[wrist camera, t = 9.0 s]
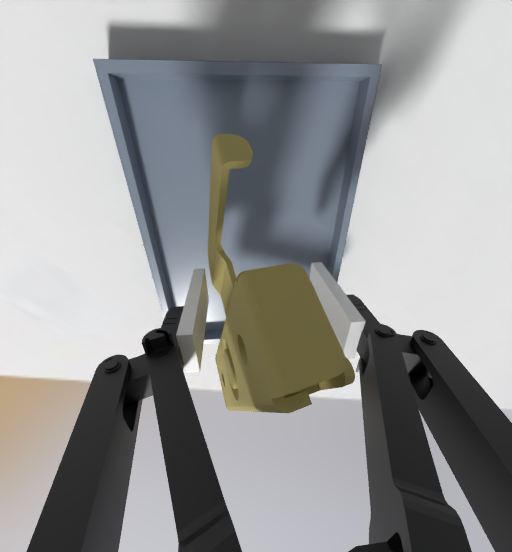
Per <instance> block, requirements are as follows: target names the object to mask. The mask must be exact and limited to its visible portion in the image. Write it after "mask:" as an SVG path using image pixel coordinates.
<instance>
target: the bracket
mask: <svg viewBox="0 0 512 552" xmlns="http://www.w3.org/2000/svg"><path fill="white" fill-rule="evenodd" d="M252 156H253V151H252V149H251V147H250V144H249V143H248V141H247V140H246V139H244V138H243V137H241V136H238V135H235V134H218V135H216V136H215V137H214V138H213V140H212V152H211V178H210V203H209V229H208V262H209V269H210V275H211V281H212V285H213V286H214V287H215V289H216V290H217V291H218V293H219V294H220V295H221V299H222V303H223V307H224V311H225V315H226V320H225V323H224V327H223V331H222V335H221V339H220V343H219V346H218V350H217V354H216V364H217V368H218V373H219V377H220V382H221V386H222V391H223V395H224V399H225V404H226V407H227V409H228V410H232V411H233V410H234V411H253V412H277V413H290V412H293V411H296V410H298V409H301V408H303V407H306V406H308V405H310V404H312V403H311V401H310V397H309V394H312V393H314V392H317V391H319V390H324V389H331V388H339V387H343V386H346V385H348V384H351V383H353V382H354V379H355V374H354V370H353V367H352V365H351V363H350V362H349V360H348V359H347V358H346V357H345V355H344V352H343V350H342V348H341V346H340V343H339V341H338V339H337V337H336V335H335V333H334V330H333V328H332V326H331V324H330V322H329V320H328V317H327V315H326V313H325V311H324V309H323V307H322V304H321V302H320V300H319V298H318V296H317V294H316V291H315V289H314V287H313V285H312V283H311V281H310V278H309V276H308V274H307V272H306V271H305V269H304V268H303V267H301V266H300V265H298V264H295V263H288V264H282V265H276V266H270V267H264V268H258V269H252V270H246V271H242V272H241V273H239V274H238V276H237V278H236V275H235V271H234V268H233V265H232V262H231V260H230V259H229V257H228V256H227V255H226V253H225V252H224V250H223V248H222V245H221V238H222V230H223V221H224V213H225V204H226V196H227V187H228V179H229V170H230V169H234V168H245V167H248V166H249V165H250V164H251V161H252Z"/></svg>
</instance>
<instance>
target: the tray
mask: <svg viewBox="0 0 512 552" xmlns="http://www.w3.org/2000/svg"><path fill="white" fill-rule="evenodd" d="M93 61H94V65H95V68H96V72H97V76H98V79H99V83H100V87H101V90H102V94H103V98H104V101H105V105H106V108H107V112H108V116H109V119H110V123H111V127H112V130H113V134H114V138H115V141H116V145H117V149H118V152H119V156H120V159H121V163H122V167H123V170H124V174H125V178H126V181H127V185H128V189H129V192H130V196H131V200H132V203H133V207H134V210H135V214H136V218H137V221H138V225H139V229H140V232H141V236H142V240H143V243H144V247H145V251H146V254H147V258H148V261H149V265H150V269H151V272H152V276H153V280H154V283H155V287H156V291H157V294H158V298H159V302H160V305H161V309H162V312H163V316H164V318H165V315H166V313H167V311H168V310H169V309H170V308H171V307H177V306H184V304H185V301H186V297H187V293H188V289H189V286H190V282H191V278H192V275H193V271H194V269H201V268H205V273H206V281H207V288H208V295H209V303H208V311H207V319H206V327H205V335H204V343H203V344H211V343H220V339H221V335H222V331H223V327H224V323H225V320H226V315H225V311H224V307H223V303H222V299H221V295H220V294H219V293H218V291H217V290H216V289H215V287H214V286H213V285H212V281H211V275H210V269H209V262H208V229H209V203H210V178H211V152H212V140H213V138H214V137H215V136H216V135H218V134H235V135H238V136H241V137H243V138H244V139H246V140H247V141H248V143H249V144H250V147H251V149H252V151H253V156H252V161H251V164H250V165H249V166H248V167H245V168H234V169H230V170H229V179H228V187H227V196H226V204H225V213H224V221H223V230H222V238H221V245H222V248H223V250H224V252H225V253H226V255H227V256H228V257H229V259H230V260H231V262H232V265H233V268H234V271H235V275H236V278H237V276H238V274H239V273H241V272H242V271H246V270H252V269H258V268H264V267H270V266H276V265H282V264H288V263H295V264H298V265H300V266H301V267H303V268H304V269H305V271H306V272H307V274H308V276H309V278H310V271H311V264H312V263H315V262H322V263H323V265H324V266H325V267H326V269H327V270H328V271H329V273H330V274H331V275H332V277H333V278H334V279H335V281H336V282H337V281H338V276H339V271H340V266H341V261H342V256H343V251H344V246H345V242H346V237H347V232H348V227H349V222H350V217H351V212H352V207H353V203H354V198H355V193H356V188H357V183H358V178H359V173H360V169H361V164H362V159H363V154H364V149H365V144H366V139H367V134H368V130H369V125H370V120H371V115H372V110H373V105H374V100H375V95H376V91H377V86H378V81H379V76H380V71H381V66H382V64H336V63H284V62H232V61H179V60H127V59H93Z"/></svg>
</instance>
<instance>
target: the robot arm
mask: <svg viewBox="0 0 512 552" xmlns="http://www.w3.org/2000/svg"><path fill="white" fill-rule="evenodd" d="M310 281H311V283H312V285H313V287H314V289H315V291H316V294H317V296H318V298H319V300H320V302H321V304H322V307H323V309H324V311H325V313H326V315H327V317H328V320H329V322H330V324H331V326H332V328H333V330H334V333H335V335H336V337H337V339H338V341H339V343H340V346H341V348H342V350H343V352H344V355H345V357H346V358H347V359H350V358H355V355H356V351H357V352H358V353H359V355H360V359H359V362H358V365H357V368H356V372H358V371H360V384H361V396H362V408H363V420H364V432H365V445H366V457H367V468H368V481H369V493H370V506H371V520H370V527H369V544H368V545H362V546H356V547H355V548H353V549H352V550H350V551H349V552H472V551H471V548H470V545H469V542H468V539H467V535H466V533H465V529H464V526H463V524H462V522H461V519H460V517H459V515H458V514H457V512H456V511H455V510H454V509H453V508H452V507H451V506H449V505H448V504H447V502H446V501H445V499H444V496H443V493H442V489H441V486H440V482H439V479H438V476H437V472H436V468H435V465H434V462H433V458H432V455H431V451H430V448H429V444H428V441H427V437H426V434H425V430H424V427H423V423H422V420H421V416H420V413H421V414H422V416H423V418H424V420H425V422H426V424H427V425H428V427H429V429H430V431H431V433H432V435H433V437H434V439H435V440H436V442H437V444H438V446H439V448H440V450H441V452H442V453H443V455H444V457H445V459H446V461H447V463H448V464H449V466H450V468H451V470H452V472H453V474H454V475H455V478H456V480H457V481H458V483H459V485H460V487H461V489H462V491H463V492H464V494H465V496H466V498H467V500H468V502H469V504H470V506H471V507H472V509H473V511H474V513H475V515H476V516H477V518H478V520H479V522H480V524H481V526H482V528H483V530H484V532H485V533H486V535H487V537H488V539H489V541H490V543H491V544H492V546H493V548H494V550H495V552H512V423H511V422H510V421H509V419H508V418H507V417H506V416H505V414H504V413H503V412H502V411H501V410H500V409H499V407H498V406H497V405H496V404H495V403H494V401H493V400H492V399H491V398H490V397H489V395H488V394H487V393H486V392H485V391H484V389H483V388H482V387H481V386H480V385H479V383H478V382H477V381H476V380H475V379H474V378H473V376H472V375H471V374H470V373H469V372H468V370H467V369H466V368H465V367H464V366H463V364H462V363H461V362H460V361H459V360H458V358H457V357H456V356H455V355H454V354H453V352H452V351H451V350H450V349H449V348H448V347H447V345H446V344H445V343H444V342H443V341H442V339H440V338H439V337H438V336H437V335H435V334H433V333H431V332H428V331H424V330H417V331H415V332H414V333H413V335H412V336H406V335H400V334H396V332H395V331H394V330H393V329H392V328H390V327H388V326H386V325H383V324H380V323H379V322H378V321H377V319H376V318H375V317H374V316H373V315H372V313H371V312H370V311H369V310H368V308H367V307H366V306H365V305H364V303H363V302H362V301H361V300H360V299H359V298H358V297H356V296H355V295H346V294H345V293H344V292H343V290H342V289H341V288H340V286H339V285H338V284H337V282H336V281H335V279H334V278H333V277H332V275H331V274H330V273H329V271H328V270H327V269H326V267H325V266H324V265H323V263H322V262H315V263H312V264H311V271H310ZM208 303H209V295H208V288H207V281H206V273H205V268H201V269H194V271H193V275H192V278H191V282H190V286H189V289H188V293H187V297H186V301H185V304H184V306H177V307H171V308H170V309H169V310H168V311H167V313H166V315H165V318H164V321H163V325H162V326H161V328H159V329H154V330H152V331H150V332H149V333H147V334H146V335H145V336H144V338H143V339H142V345H143V348H144V350H145V354H143V355H141V356H138V357H135V358H132V359H129V360H128V358H127V357H126V356H124V355H115V356H111V357H109V358H107V359H106V360H104V361H103V362H102V363H101V364H99V366H98V367H97V369H96V371H95V374H94V377H93V379H92V382H91V384H90V387H89V390H88V393H87V395H86V398H85V400H84V403H83V406H82V408H81V411H80V413H79V416H78V418H77V421H76V424H75V426H74V429H73V432H72V434H71V437H70V440H69V442H68V445H67V447H66V450H65V452H64V455H63V458H62V461H61V463H60V466H59V468H58V471H57V474H56V476H55V479H54V481H53V484H52V487H51V489H50V492H49V494H48V497H47V500H46V502H45V505H44V507H43V510H42V513H41V515H40V518H39V521H38V523H37V526H36V528H35V531H34V534H33V536H32V539H31V541H30V544H29V547H28V550H27V552H118V549H119V543H120V536H121V530H122V524H123V517H124V511H125V504H126V499H127V492H128V486H129V480H130V474H131V467H132V460H133V455H134V449H135V442H136V436H137V430H138V423H139V418H140V417H139V416H140V411H141V405H142V399H144V398H147V397H149V396H152V395H153V396H154V402H155V408H156V414H157V419H158V425H159V431H160V437H161V442H162V448H163V454H164V459H165V465H166V471H167V477H168V482H169V488H170V494H171V500H172V506H173V511H174V517H175V523H176V529H177V535H178V542H179V548H178V552H242V550H241V547H240V544H239V541H238V538H237V535H236V532H235V529H234V526H233V523H232V520H231V517H230V514H229V512H228V509H227V506H226V503H225V500H224V497H223V494H222V491H221V488H220V485H219V482H218V479H217V476H216V473H215V469H214V466H213V463H212V460H211V457H210V454H209V451H208V448H207V444H206V442H205V438H204V435H203V432H202V429H201V426H200V423H199V420H198V416H197V413H196V410H195V407H194V404H193V401H192V398H191V395H190V391H189V388H188V385H187V382H186V379H185V376H184V373H183V369H184V370H185V373H191V372H200V366H201V359H202V351H203V343H204V335H205V327H206V319H207V311H208ZM429 372H430V373H429ZM419 411H420V413H419Z"/></svg>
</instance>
